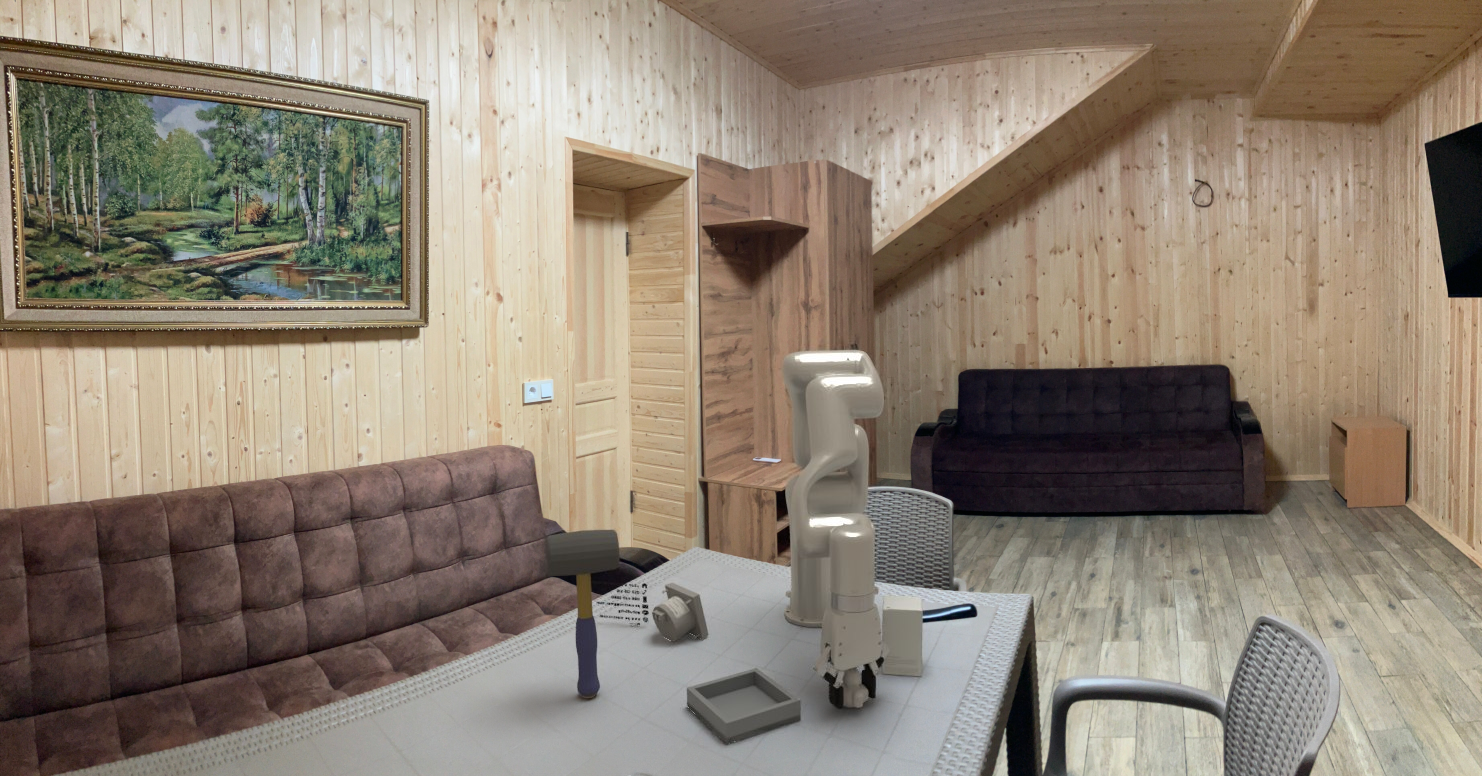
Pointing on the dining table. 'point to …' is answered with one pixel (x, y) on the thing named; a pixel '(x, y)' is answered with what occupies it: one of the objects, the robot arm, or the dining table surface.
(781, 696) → the tray
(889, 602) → the supplement box
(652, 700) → the dining table surface
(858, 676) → the beige rounded piece
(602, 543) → the rubber mallet
